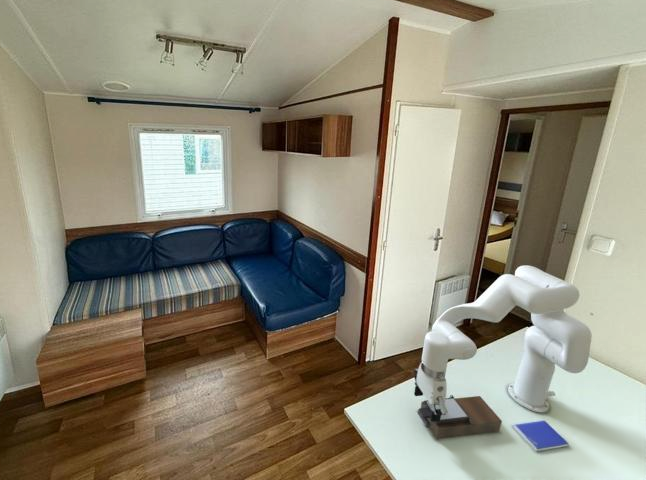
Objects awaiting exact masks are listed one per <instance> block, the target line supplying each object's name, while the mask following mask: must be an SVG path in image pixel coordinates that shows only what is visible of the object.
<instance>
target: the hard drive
mask: <svg viewBox="0 0 646 480" xmlns="http://www.w3.org/2000/svg"><path fill="white" fill-rule="evenodd" d="M513 428H514V430H515V431H516V432H517V433H518V434H519V435H520V436H521V437H522V438H523V439H524V440H525V441H526V442H527V444H528V445H529V446H530V447H531V448H532V449H533V450H534V451H535V452H540V451H546V450H551V449H558V448H563V447H568V446H569V442H568V441H567V440H566V439H565V438H563V437H562V435H561V434H560V433H558V432H557V431H556V430H555V428H554V427H552V426H551V425H550V424H549V423H548V422H547V421H546V420H539V421H538V420H537V421H532V422H525V423H517V424H514V426H513Z"/></svg>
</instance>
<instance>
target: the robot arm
mask: <svg viewBox="0 0 646 480" xmlns="http://www.w3.org/2000/svg"><path fill="white" fill-rule="evenodd" d="M579 298H580V291H579V288H578V287H577V286H576V285H574V284H573V283H570V282H568V281H566V280H564V279H561V278H559V277H556V276H554V275H552V274H550V273H548V272H545V271H543V270H542V269H540V268H538V267H537V266H533V265H528V264H527V265H524V264H523V265H520V266H518V267H517V268H516V269H515V271H514V274H510V273H505V274H502V275H500V276H499V277H497V279H496V280H494V282H493V283H492V284H491V285H490V286H489V287H488V288H487V289H486V290H485V291H484V292H483V293H481V294H480V295H479V297H478V298H476V300H475V301H473V302H470V303H469V302H468V303H461V304H458V305H455V306H452V307H449V308H448V309H446V310H445V311H444V312H443V313H441V315H440V316H439V317H438V318H437V319H436V320H435V322H434V323H433V325H432V326H431V331H429V332H426V334H425V336H424V342H423V348H422V354H421V361H420V363H419V365H418V368H413V373H414V375H413V378H414V381H415V382H414V385H415V387H414V392H413V394H414V397H422V396H424V397H425V399H426V400H428V401H429V403H430V404H431V405H432V408H433V411H432V413H431V418H430V420H431V422H435V421H436V422H438V421H440V418H441V415H445V414H447V413H448V411H447V409H446V406H445V400H446V398H447V390H448V389H447V379H446V374H447V368H448V362H449V360H459V361H465V360H470V359H472V358H474V357H475V356H476V355H477V352H478V348H477V345H476V343H475V342H474V341H473V340H472V339H471V338H470V337H469V336H467V335H466V334H465V333H463V331H461V330H460V329H459V328H458V327H456V326H455V325H456V324H457V323H458V322H461V321H463V320H466V319H476V320H482V321H486V322H490V323H499V322H501V321H503V319H504V318H505V317H506V316H507V315H508V313H510V312H511V311H512V310H513V309H514V308H515V307H516V306H517V307H519V308H521V309H523V310H525V311H527V312H528V313H529V314H530V320H531V323H532V325H531V326H529V327H528V328H527V329H526V330H525V333H524V338H523V340H524V341H523V342H524V346H523V353H522V357H521V360H520V364H519V368H518V372H517V373H516V378H515V381H514V382H512V383H510V384H509V385H508V388H507V391H508V394H509V396H510V397H511V398H512V399H513V401H515V402H516V403H517V404H519V405H521V407H523V408H525V409H526V410H530V411H532V412H535V413H546V412H548V411H549V409H550V403H549V401H548V398H549V397H555V396H556V393H555V391H554V390H549V389H550V387H551V383H552V380H553V377H554V375H555V371H556V366H557V367H559V368H560V369H562V370H564V371H565V372H567V373H570V374H579V373H580V374H581V373H582V372H583V371H584V370H586V367H587V365H588V363H589V359H590V352H591V345H592V338H593V337H592V331H591V328H589V326H588V325H587V324H585V322H583V321H580V320H579V319H577V318H575V317H573V316H571V315H569V314H568V313H567V312H565V310H566V309H567V310H568V309H570V308H571V307H573V306H574V305H576V304H577V302H578V301H579ZM437 401H438V402H437ZM435 405H438V407H439V409H437V410H436V407H435Z"/></svg>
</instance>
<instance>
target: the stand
mask: <svg viewBox="0 0 646 480" xmlns="http://www.w3.org/2000/svg"><path fill="white" fill-rule="evenodd" d="M453 397H454V395H453V394H450V395H449V398H453ZM454 398H455V397H454ZM455 400H456V401H457V402H458V404H459V405H460V406H461V407H462V409H463V410H464V411H465V413H466V414H467V415H468V416H469V421H467V422H459V423H450V424H442V425H437V424H436V423H435V422H431V420H430V418H427V419H428V421H429V423H430V427H428V428H429V429H430V431H431V433H432V435H433V436H434V438H435V439H436V440H442V439H450V438H459V437H468V436H476V435H483V434H484V435H485V434H493V433H499V432H500V430H501V426H502V423H503V421H502V419H501V418H500V417H499V416H498V414H497V413H496V412H494V410H493V409H492V408H491V407H490V406H489V404H488V403H487V402H486V401H485V400H484V398H483V397H482V396H481V395H475V396H474V395H473V396H466V397H457V398H455ZM423 403H424V401H421V403H420V408H426V407H425V406H424V404H423Z"/></svg>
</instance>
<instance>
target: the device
mask: <svg viewBox="0 0 646 480" xmlns="http://www.w3.org/2000/svg"><path fill="white" fill-rule="evenodd" d="M423 402H424V403H423V404H424V406H425V407H426V408H421V407H419V408H418V411H417V415H418V416H419V418H420V419H421V422H422V423H423V425H424V426H425V427H426V428H429V427H430V423H429V421H428V419H427V418H431V413H432V411H433V408H432V405H431V404H430V403H429V401H428V400H427V399H426V400H423ZM437 402H438V401H437ZM445 406H446V409H447V411H448V413H447V414H445V415H441V418H440V421H438V422H436V421H435V423H436V424H437V425H442V424H450V423H459V422H467V421H469V416H468V415H467V414H466V413H465V411H464V410H463V409H462V407H461V406H460V405H459V404H458V402H457V401H456V400H455V396H453V398H450V397H446V400H445ZM435 407H436V410H437V409H439V407H438V405H435Z"/></svg>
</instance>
